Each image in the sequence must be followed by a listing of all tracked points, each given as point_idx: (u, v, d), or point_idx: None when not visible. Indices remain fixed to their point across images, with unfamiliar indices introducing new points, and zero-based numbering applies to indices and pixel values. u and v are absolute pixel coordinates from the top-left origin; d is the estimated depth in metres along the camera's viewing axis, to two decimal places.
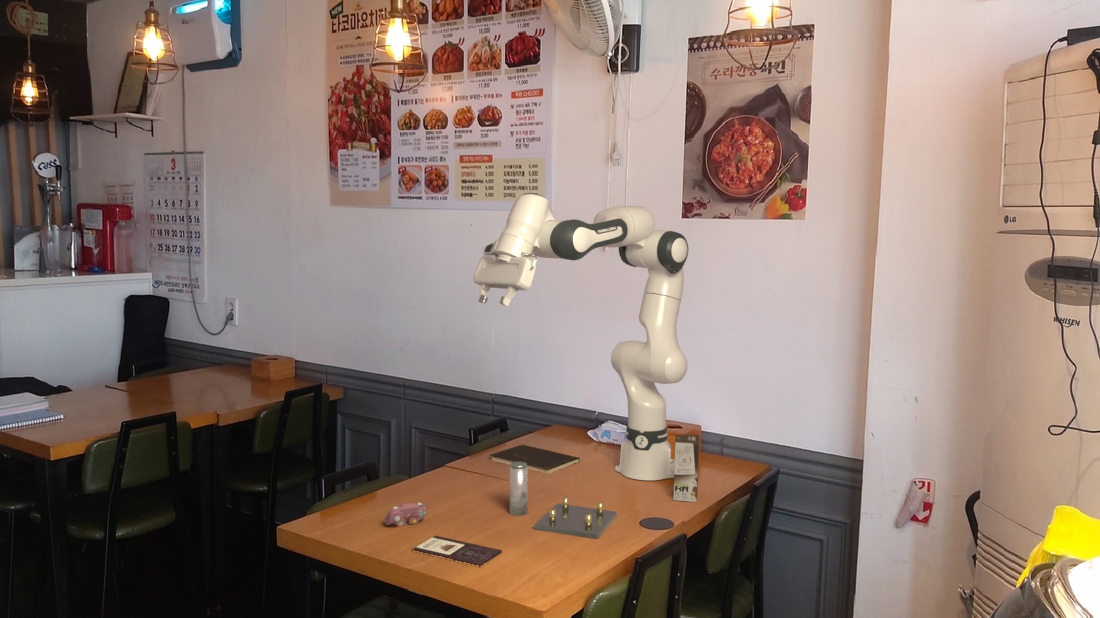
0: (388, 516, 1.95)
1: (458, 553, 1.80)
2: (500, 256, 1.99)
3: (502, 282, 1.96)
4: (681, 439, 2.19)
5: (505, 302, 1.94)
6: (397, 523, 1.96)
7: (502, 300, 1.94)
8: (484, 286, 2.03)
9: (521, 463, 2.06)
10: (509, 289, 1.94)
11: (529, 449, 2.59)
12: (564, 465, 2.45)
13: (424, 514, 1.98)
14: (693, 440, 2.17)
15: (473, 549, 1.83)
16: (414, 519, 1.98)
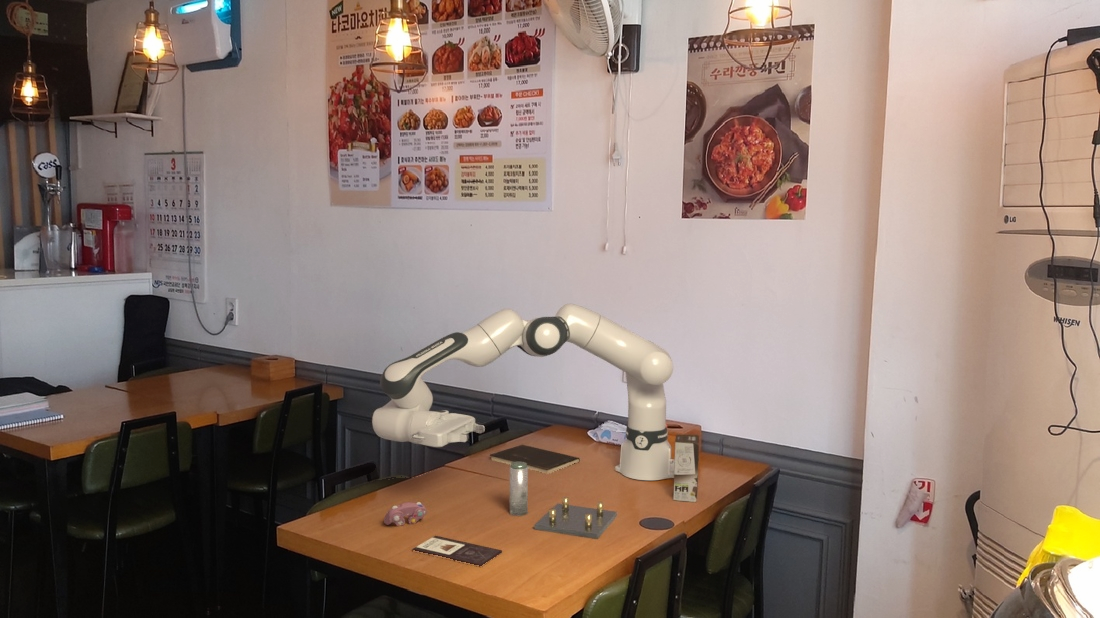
0: (387, 515, 1.96)
1: (458, 553, 1.80)
2: None
3: None
4: (681, 439, 2.19)
5: (463, 439, 2.05)
6: (396, 522, 1.97)
7: None
8: (470, 429, 2.16)
9: (521, 463, 2.06)
10: None
11: (529, 449, 2.59)
12: (564, 465, 2.45)
13: (423, 513, 1.99)
14: (693, 440, 2.17)
15: (473, 549, 1.83)
16: (413, 518, 1.98)
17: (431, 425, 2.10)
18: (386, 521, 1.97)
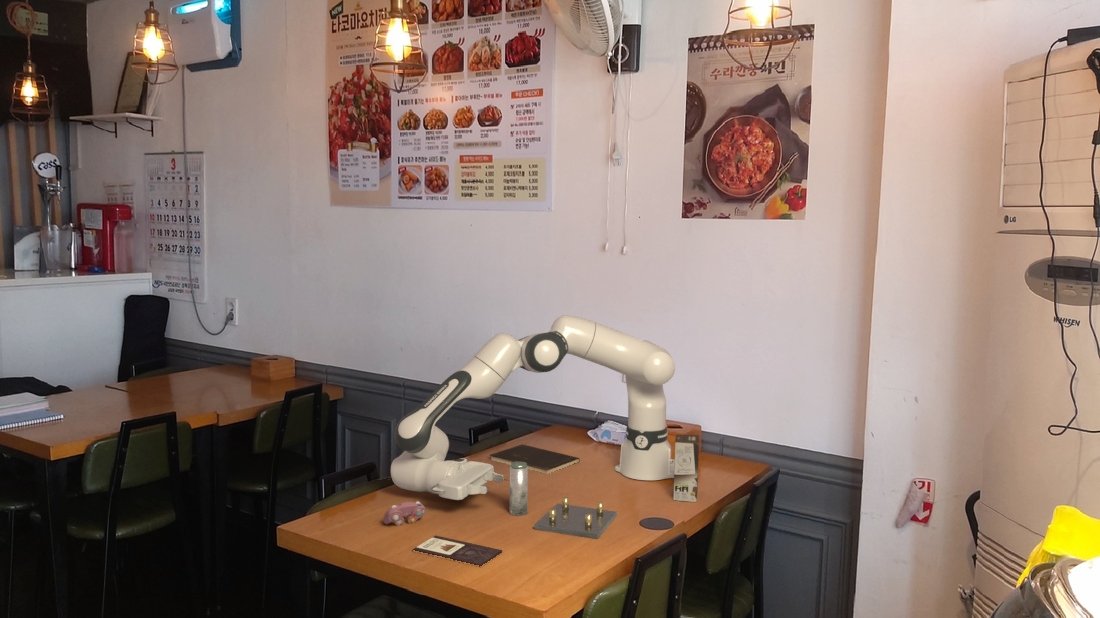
0: (387, 515, 1.96)
1: (458, 553, 1.80)
2: None
3: None
4: (681, 439, 2.19)
5: (483, 491, 2.04)
6: (396, 522, 1.97)
7: None
8: (489, 478, 2.16)
9: (521, 463, 2.06)
10: None
11: (529, 449, 2.59)
12: (564, 465, 2.45)
13: (422, 513, 1.99)
14: (693, 440, 2.17)
15: (473, 549, 1.83)
16: (412, 518, 1.99)
17: (450, 476, 2.10)
18: (385, 520, 1.97)
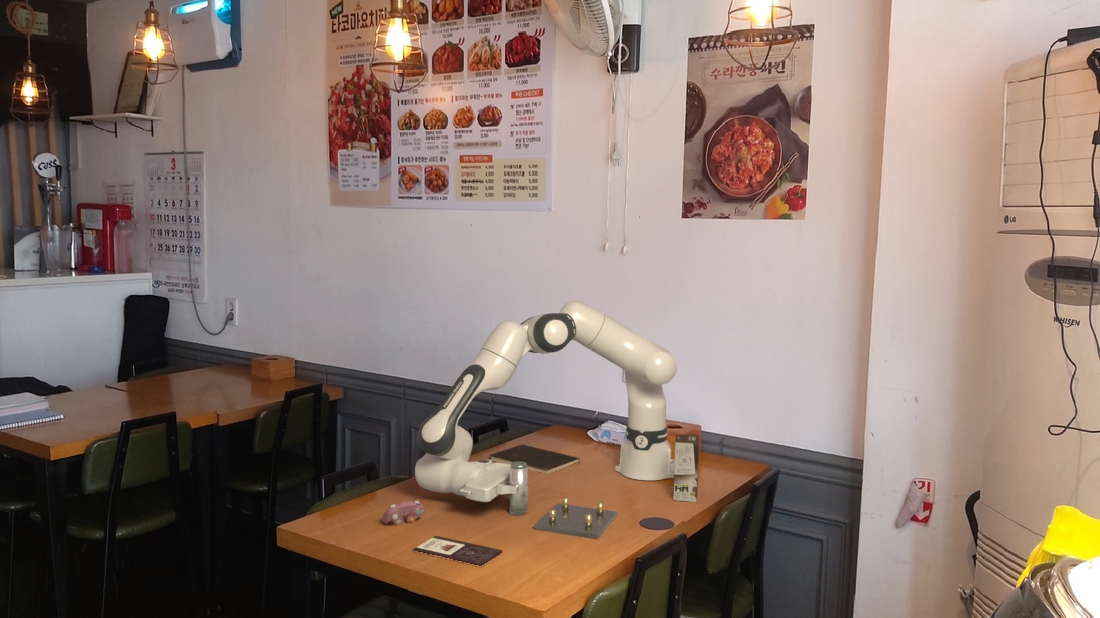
0: (386, 514, 1.96)
1: (458, 553, 1.80)
2: None
3: None
4: (681, 439, 2.19)
5: (514, 491, 2.03)
6: (395, 521, 1.97)
7: None
8: None
9: (521, 463, 2.06)
10: None
11: (529, 449, 2.59)
12: (564, 465, 2.45)
13: (422, 512, 2.00)
14: (693, 440, 2.17)
15: (473, 549, 1.83)
16: (412, 517, 1.99)
17: (477, 478, 2.07)
18: (384, 520, 1.98)
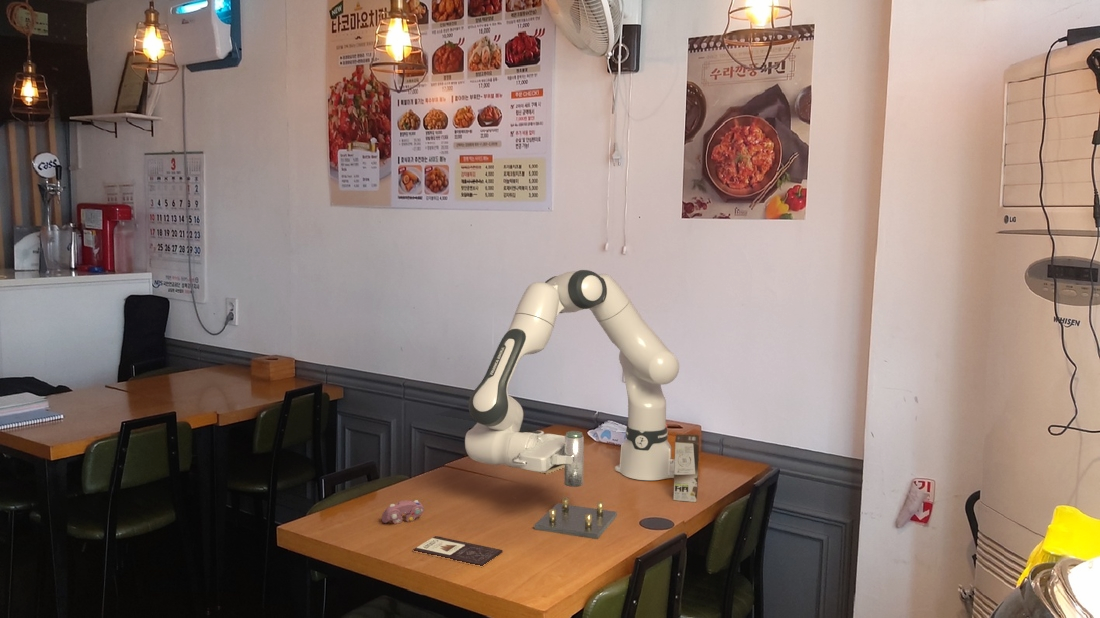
0: (385, 513, 1.97)
1: (458, 553, 1.80)
2: None
3: None
4: (681, 439, 2.19)
5: (570, 461, 1.96)
6: (394, 520, 1.98)
7: None
8: None
9: (576, 432, 1.99)
10: None
11: None
12: (564, 465, 2.45)
13: (421, 511, 2.00)
14: (693, 440, 2.17)
15: (473, 549, 1.83)
16: (411, 516, 2.00)
17: (530, 448, 2.00)
18: (384, 519, 1.98)
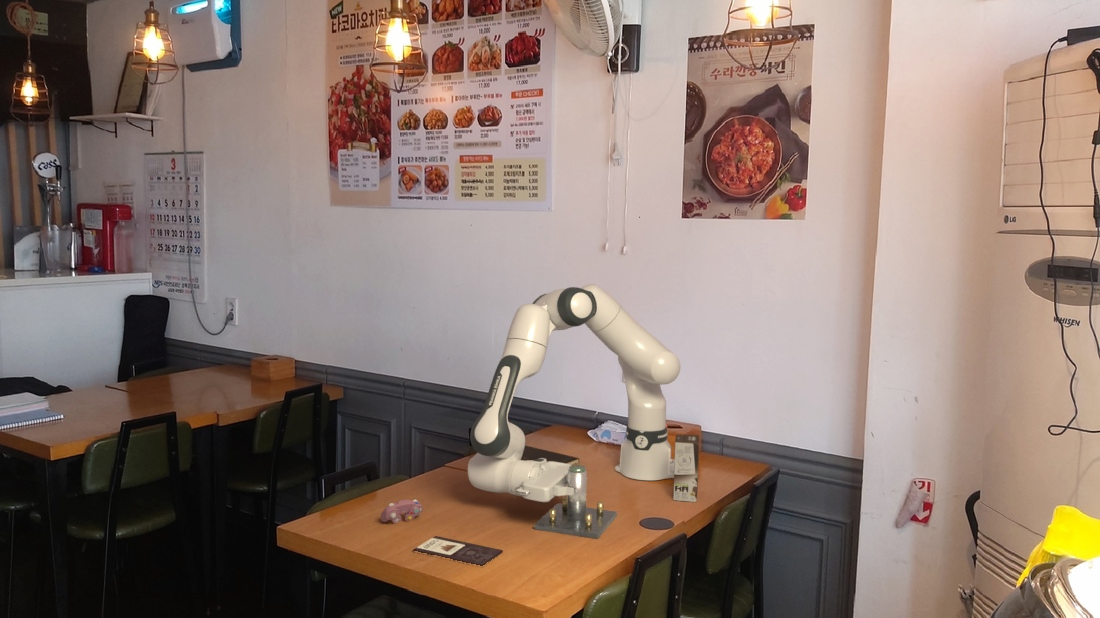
0: (384, 513, 1.97)
1: (459, 553, 1.80)
2: None
3: None
4: (681, 439, 2.19)
5: (571, 493, 1.95)
6: (393, 520, 1.98)
7: None
8: None
9: (579, 467, 2.00)
10: None
11: (528, 449, 2.59)
12: None
13: (420, 511, 2.01)
14: (693, 440, 2.17)
15: (473, 549, 1.83)
16: (410, 516, 2.00)
17: (533, 477, 2.00)
18: (383, 518, 1.98)
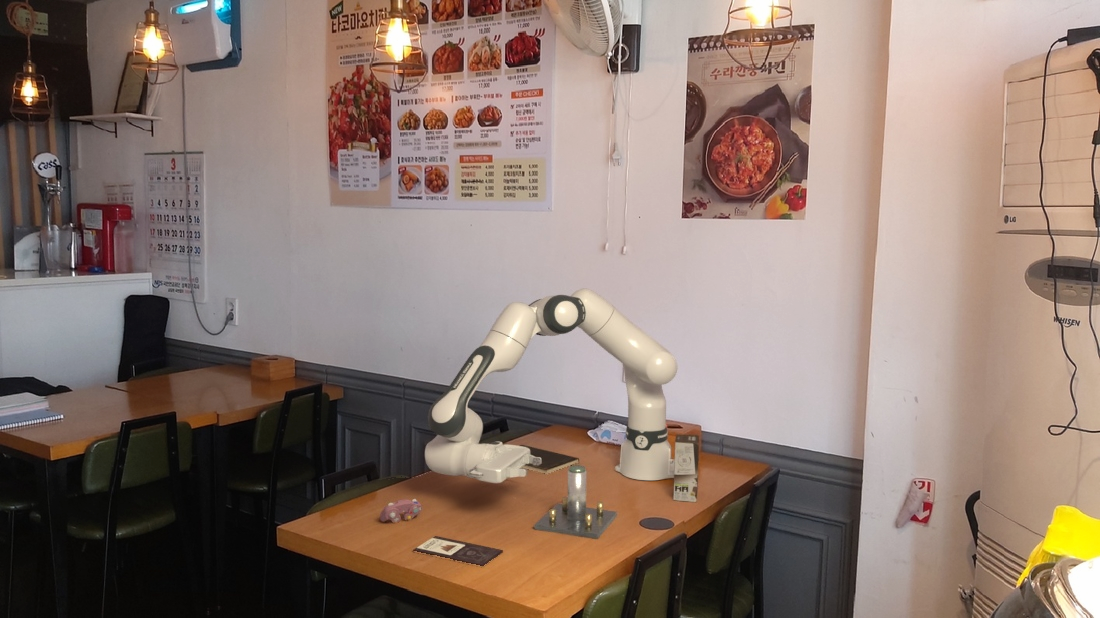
0: (383, 512, 1.98)
1: (459, 553, 1.80)
2: None
3: None
4: (681, 439, 2.19)
5: (523, 474, 1.99)
6: (392, 519, 1.99)
7: None
8: (526, 461, 2.10)
9: (579, 467, 2.00)
10: None
11: None
12: (563, 465, 2.45)
13: (419, 510, 2.01)
14: (693, 440, 2.17)
15: (474, 549, 1.82)
16: (409, 515, 2.00)
17: (487, 459, 2.04)
18: (382, 518, 1.99)
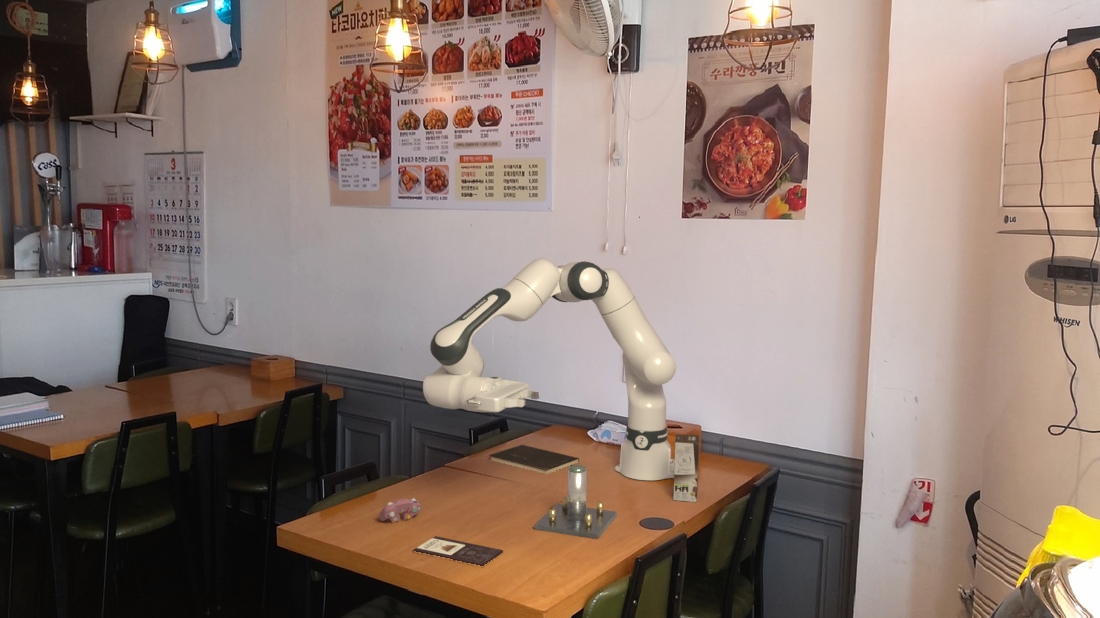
0: (383, 512, 1.98)
1: (459, 553, 1.80)
2: None
3: None
4: (681, 439, 2.19)
5: (521, 404, 1.97)
6: (392, 519, 1.99)
7: None
8: (525, 395, 2.08)
9: (579, 467, 2.00)
10: None
11: (528, 449, 2.59)
12: (563, 465, 2.45)
13: (418, 510, 2.01)
14: (693, 440, 2.17)
15: (474, 549, 1.82)
16: (408, 515, 2.01)
17: (486, 391, 2.02)
18: (381, 517, 1.99)
